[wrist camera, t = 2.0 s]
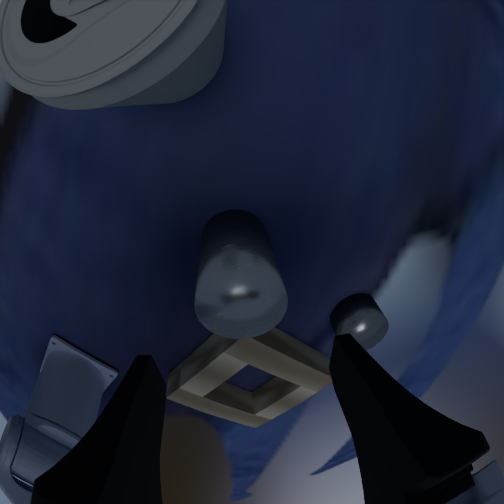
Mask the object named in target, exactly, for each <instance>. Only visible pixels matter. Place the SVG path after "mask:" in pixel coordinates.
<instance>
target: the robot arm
mask: <svg viewBox="0 0 504 504" xmlns="http://www.w3.org/2000/svg"><path fill="white" fill-rule="evenodd" d="M329 370H330V374H331V378H332V382H333V386H334V389H335V392H336V395H337V397H338V400H339V403H340V405H341V408H342V410H343V413H344V416H345V418H346V421H347V423H348V426H349V429H350V431H351V435H352V438H353V441H354V445H355V449H356V454H357V458H358V463H359V468H360V473H361V478H362V485H363V491H364V500H365V504H504V477H503V474H502V472H501V469H500V467H499V465H498V462H497V460H494V461H492V462H491V463H489V464H488V465H486V466H485V467H484V468H482V469H481V470H479V471H478V472H476V473H475V474H473V475H471V473H470V472H471V471H472V470H473V467H472V463H473V462H474V461H476V460H477V459H479V458H480V457H481V456H482V455H484V454H485V453H487V452H488V451H489V449H490V447H489V445H488V443H487V440H486V438H485V436H484V435H483V433H482V432H480V431H478V430H475V429H472V428H470V427H467V426H465V425H462V424H460V423H458V422H456V421H454V420H452V419H450V418H448V417H446V416H445V415H443V414H441V413H439V412H438V411H436V410H434V409H433V408H431V407H429V406H428V405H427V404H425V403H423V402H422V401H421V400H419V399H418V398H417V397H415V396H414V395H413V394H411V393H410V392H409V391H408V390H406V389H405V388H404V387H403V386H402V385H400V384H399V383H398V382H397V381H396V380H395V379H394V378H393V377H392V376H390V375H389V374H388V373H387V372H386V371H385V370H384V369H383V368H382V367H381V366H380V365H379V364H378V363H377V362H376V361H375V360H374V359H373V358H372V357H371V356H370V355H369V353H368V352H367V351H366V350H365V349H364V348H363V347H362V346H361V345H360V344H359V343H358V342H357V340H356V339H355V338H354V337H353V336H352V335H351V334H350V333H347V334H342V335H336V336H335V339H334V344H333V349H332V354H331V358H330V363H329ZM117 375H118V372H117V371H116V370H115V369H113V368H111V367H109V366H107V365H105V364H104V363H102V362H100V361H98V360H96V359H94V358H93V357H91V356H89V355H87V354H86V353H84V352H82V351H80V350H79V349H77V348H75V347H74V346H72V345H70V344H69V343H67V342H65V341H64V340H62V339H61V338H59V337H58V336H56V335H52V337H51V339H50V342H49V345H48V348H47V350H46V353H45V356H44V359H43V362H42V366H41V369H40V376H39V378H38V380H37V383H36V385H35V388H34V390H33V393H32V396H31V398H30V401H29V404H28V406H27V409H26V412H25V415H24V416H23V417H21V416H20V415H18V414H17V415H15V416H11V417H10V418H9V420H8V422H7V424H6V427H5V429H4V432H3V434H2V437H1V441H0V488H1V489H2V491H3V492H4V493H5V495H6V496H7V497H8V499H9V500H10V501H11V503H12V504H162V496H161V484H160V447H161V438H162V429H163V422H164V413H165V389H166V384H165V382H164V380H163V378H162V376H161V374H160V372H159V370H158V368H157V366H156V364H155V362H154V360H153V358H152V355H137V356H136V358H135V359H134V361H133V363H132V364H131V366H130V368H129V370H128V371H127V373H126V375H125V377H124V378H123V380H122V382H121V383H120V385H119V387H118V388H117V390H116V391H115V393H114V395H113V396H112V398H111V400H110V401H109V403H108V404H107V406H106V407H105V409H104V410H103V411H102V413H101V414H100V416H99V417H98V419H97V420H96V418H97V414H98V409H99V405H100V401H101V397H102V393H103V392H104V391H105V389H106V388H107V387H108V386H109V385H110V384H111V382H112V381H113V380H114V379H115V378H116V377H117ZM13 475H14V476H16V477H18V478H20V479H21V480H23V481H25V482H27V483H29V484H31V485H33V487H32V486H29V485H27V484H26V483H24V482H22V481H20V480H18V479H17V478H15V477H14V476H13Z"/></svg>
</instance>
